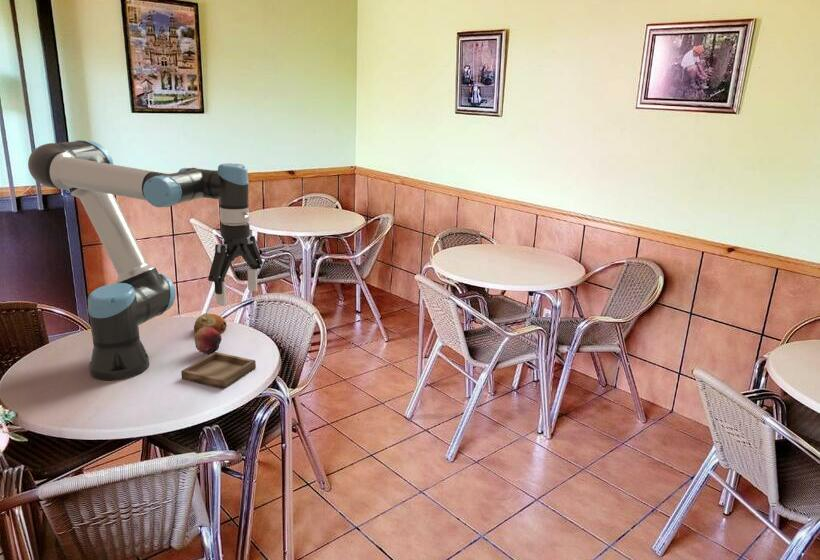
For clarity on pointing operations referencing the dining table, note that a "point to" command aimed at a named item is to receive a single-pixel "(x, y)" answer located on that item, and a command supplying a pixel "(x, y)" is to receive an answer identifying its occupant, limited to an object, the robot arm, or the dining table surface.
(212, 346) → the fruit
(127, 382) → the dining table surface
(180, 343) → the dining table surface
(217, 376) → the walnut tray
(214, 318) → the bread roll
